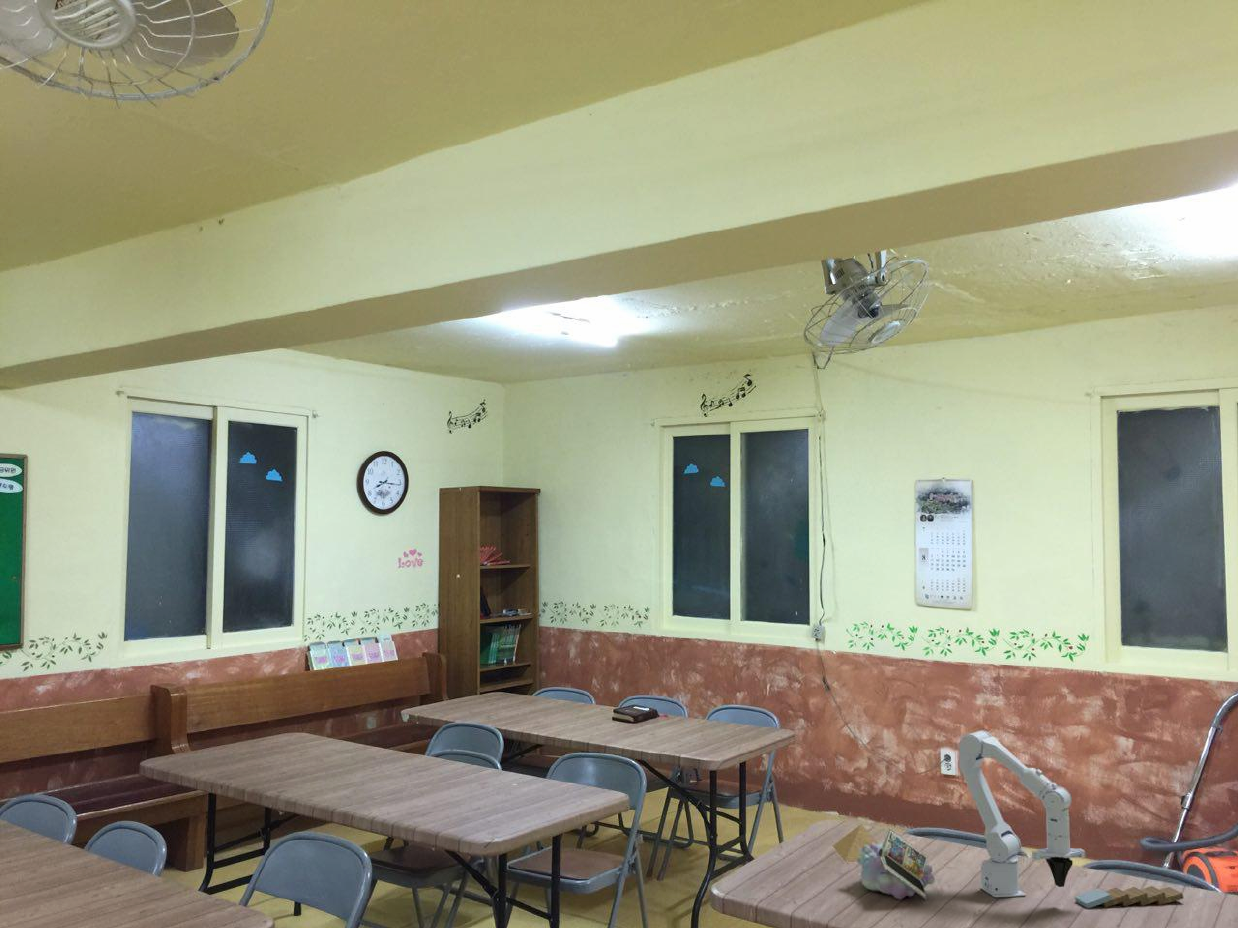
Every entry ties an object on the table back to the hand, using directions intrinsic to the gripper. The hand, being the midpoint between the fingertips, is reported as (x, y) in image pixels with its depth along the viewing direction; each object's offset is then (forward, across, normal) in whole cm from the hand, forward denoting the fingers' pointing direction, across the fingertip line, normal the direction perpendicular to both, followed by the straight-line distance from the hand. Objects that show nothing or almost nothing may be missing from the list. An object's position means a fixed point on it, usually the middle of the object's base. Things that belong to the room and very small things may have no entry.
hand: (1059, 885), depth 260 cm
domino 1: (+5, +6, 0) cm, 8 cm away
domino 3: (+5, +17, 0) cm, 18 cm away
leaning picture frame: (+6, -39, +17) cm, 43 cm away
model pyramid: (+6, -36, +49) cm, 61 cm away
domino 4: (+5, +22, 0) cm, 23 cm away
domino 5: (+5, +28, 0) cm, 28 cm away
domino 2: (+5, +12, 0) cm, 12 cm away
